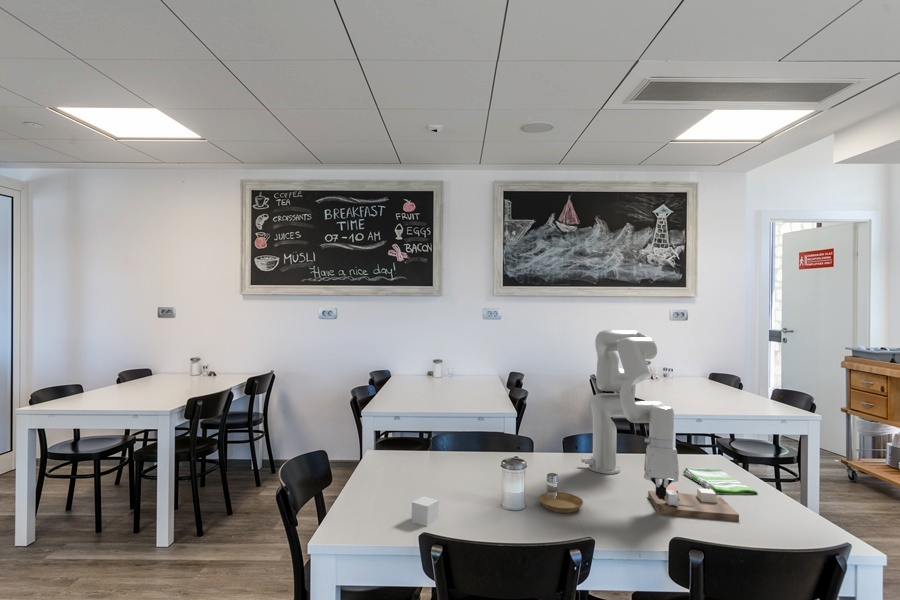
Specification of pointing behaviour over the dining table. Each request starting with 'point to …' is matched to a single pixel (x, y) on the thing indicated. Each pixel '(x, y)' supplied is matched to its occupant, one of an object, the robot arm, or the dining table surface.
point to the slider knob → (671, 497)
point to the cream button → (706, 495)
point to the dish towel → (718, 481)
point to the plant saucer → (561, 502)
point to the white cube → (425, 511)
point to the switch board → (695, 507)
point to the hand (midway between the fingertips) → (660, 497)
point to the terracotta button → (672, 489)
